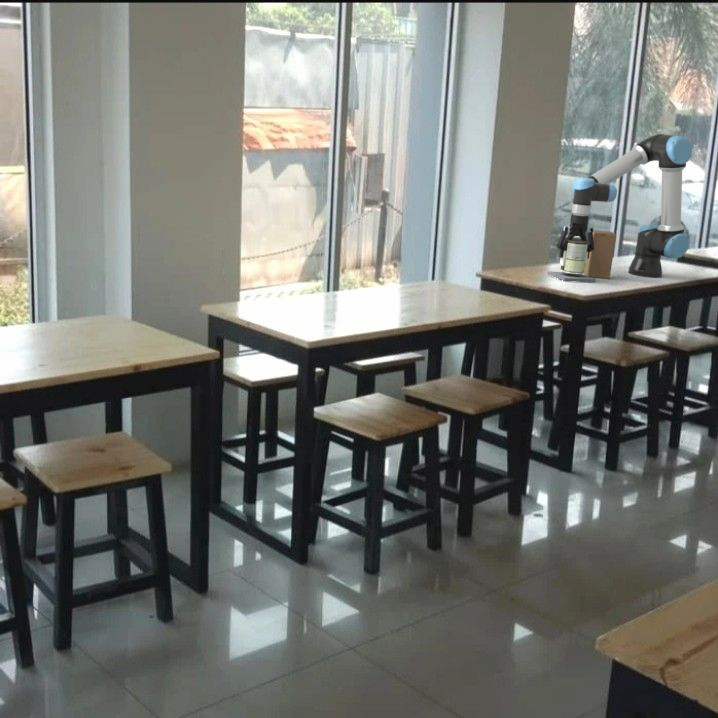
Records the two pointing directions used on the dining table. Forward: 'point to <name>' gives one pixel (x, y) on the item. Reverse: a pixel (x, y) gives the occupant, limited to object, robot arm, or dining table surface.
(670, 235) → the robot arm
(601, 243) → the wooden block
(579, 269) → the coffee can
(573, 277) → the grey mat
